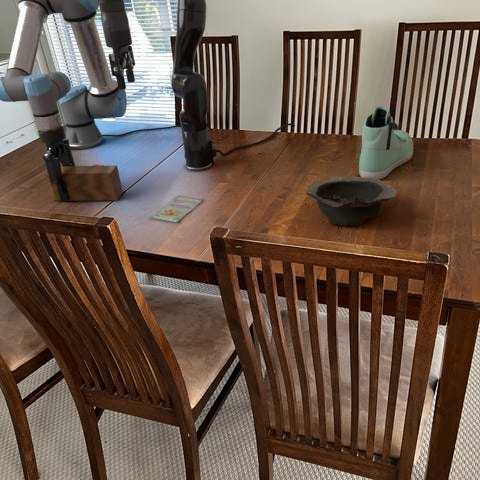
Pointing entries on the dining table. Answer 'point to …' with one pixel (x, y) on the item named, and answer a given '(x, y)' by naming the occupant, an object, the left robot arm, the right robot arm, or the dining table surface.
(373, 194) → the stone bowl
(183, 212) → the baking ingredient package
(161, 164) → the dining table surface
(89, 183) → the box
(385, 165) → the sneaker
